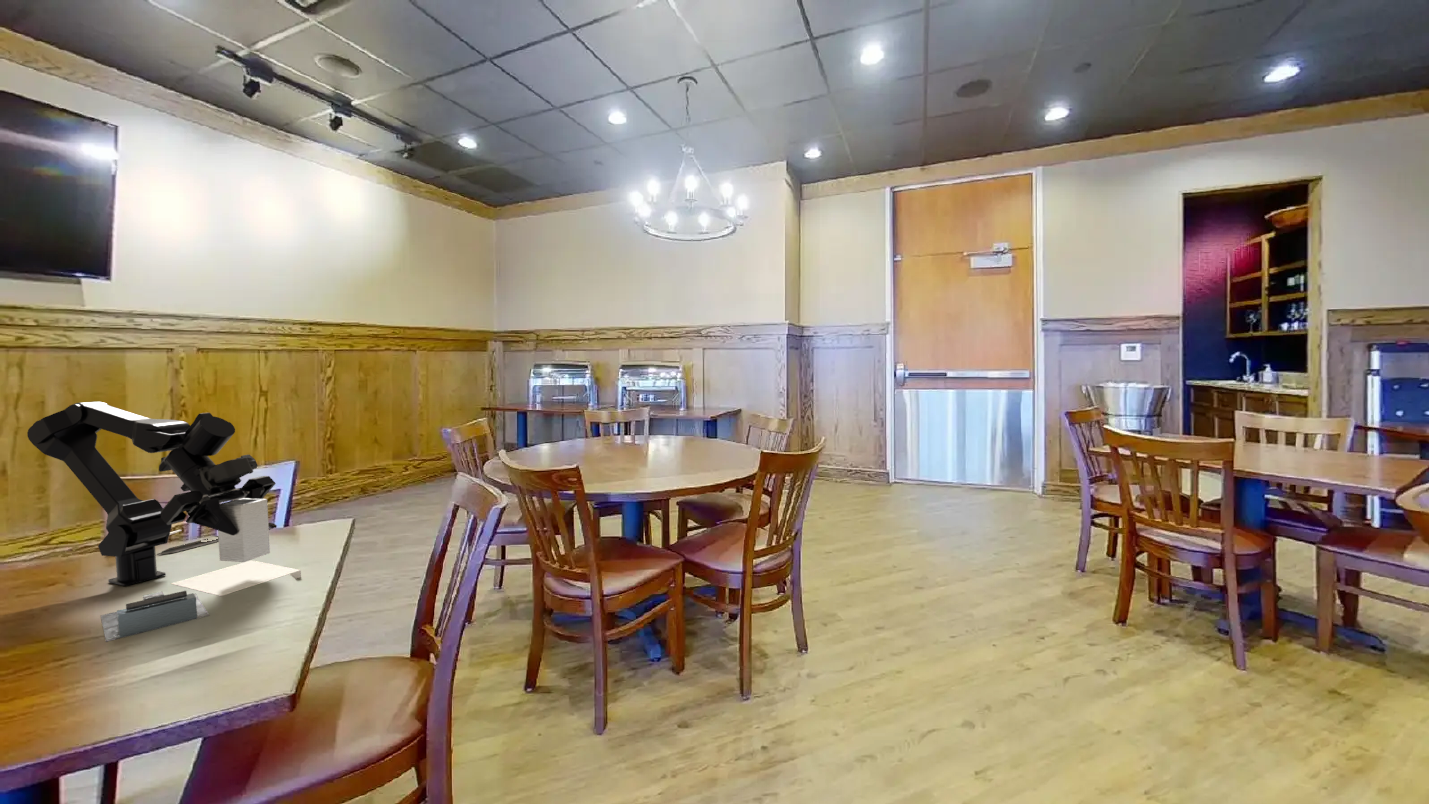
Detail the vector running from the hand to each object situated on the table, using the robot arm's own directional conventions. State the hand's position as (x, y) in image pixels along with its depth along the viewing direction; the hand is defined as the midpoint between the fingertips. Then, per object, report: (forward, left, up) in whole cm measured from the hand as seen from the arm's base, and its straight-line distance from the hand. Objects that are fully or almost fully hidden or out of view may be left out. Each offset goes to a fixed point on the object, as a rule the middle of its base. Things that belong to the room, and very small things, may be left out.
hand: (249, 529), depth 112 cm
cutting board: (-4, 0, -11) cm, 12 cm away
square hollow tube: (-1, 0, -6) cm, 6 cm away
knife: (-41, +16, -12) cm, 46 cm away
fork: (-55, +8, -12) cm, 57 cm away
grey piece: (+3, -16, -11) cm, 20 cm away
